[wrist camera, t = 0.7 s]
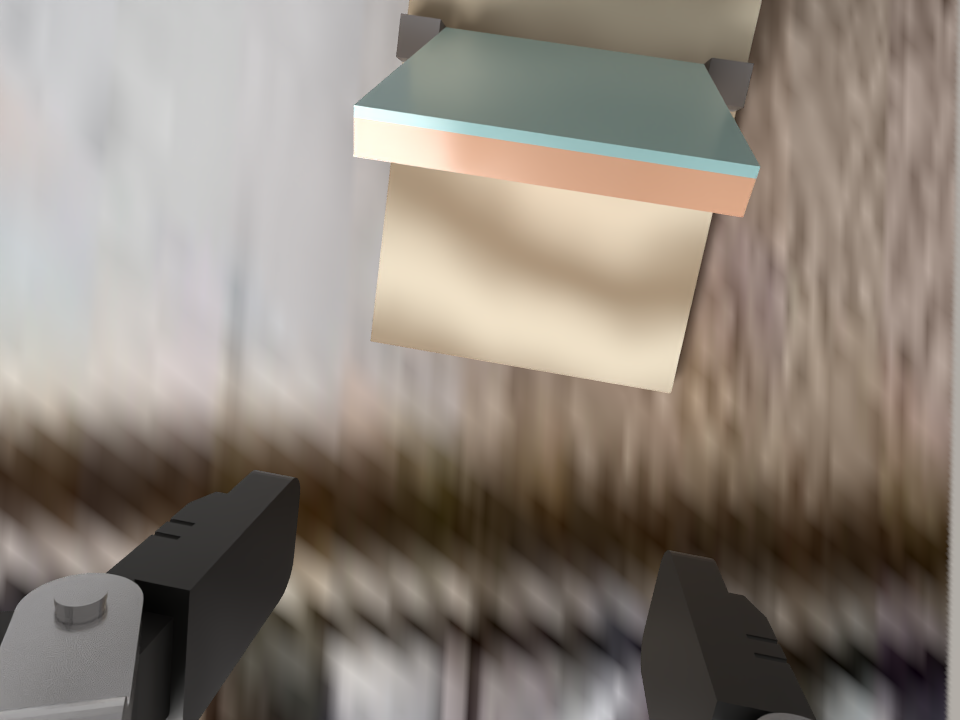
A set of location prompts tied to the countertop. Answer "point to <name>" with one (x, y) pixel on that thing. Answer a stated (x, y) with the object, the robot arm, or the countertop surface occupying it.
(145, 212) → the countertop surface
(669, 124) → the tile
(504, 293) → the board
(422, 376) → the countertop surface
